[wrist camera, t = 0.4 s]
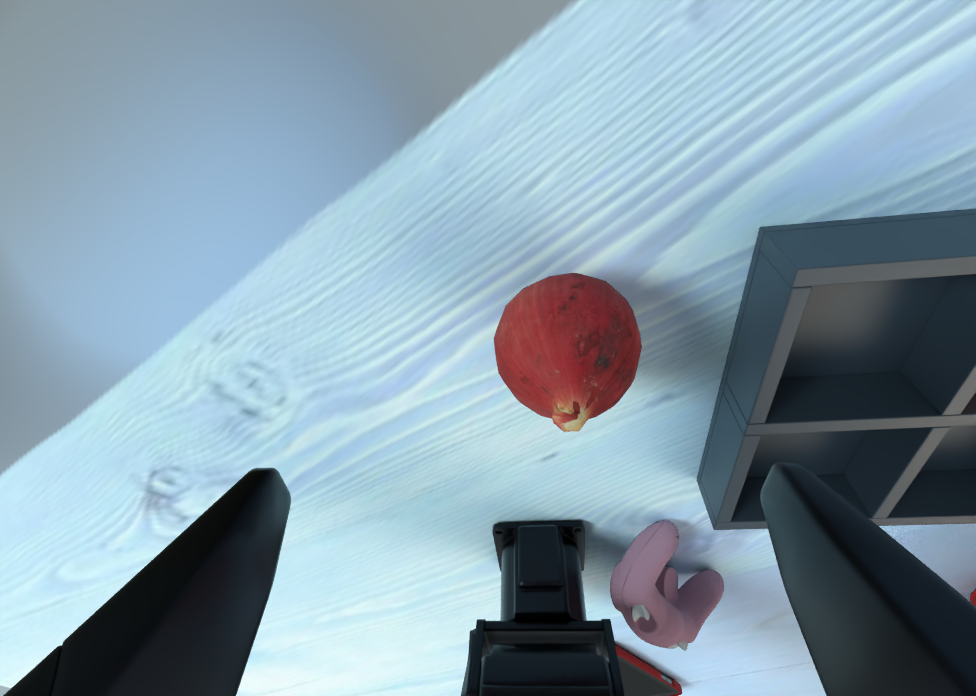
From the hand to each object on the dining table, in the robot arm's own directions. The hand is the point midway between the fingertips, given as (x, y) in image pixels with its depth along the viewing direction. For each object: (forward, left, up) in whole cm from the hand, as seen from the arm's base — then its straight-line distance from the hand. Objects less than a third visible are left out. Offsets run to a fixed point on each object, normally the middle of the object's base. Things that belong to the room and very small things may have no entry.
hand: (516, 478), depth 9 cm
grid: (-11, -19, -14) cm, 26 cm away
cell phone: (-53, -7, -14) cm, 55 cm away
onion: (-5, -2, -14) cm, 15 cm away
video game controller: (-29, -9, -14) cm, 34 cm away
